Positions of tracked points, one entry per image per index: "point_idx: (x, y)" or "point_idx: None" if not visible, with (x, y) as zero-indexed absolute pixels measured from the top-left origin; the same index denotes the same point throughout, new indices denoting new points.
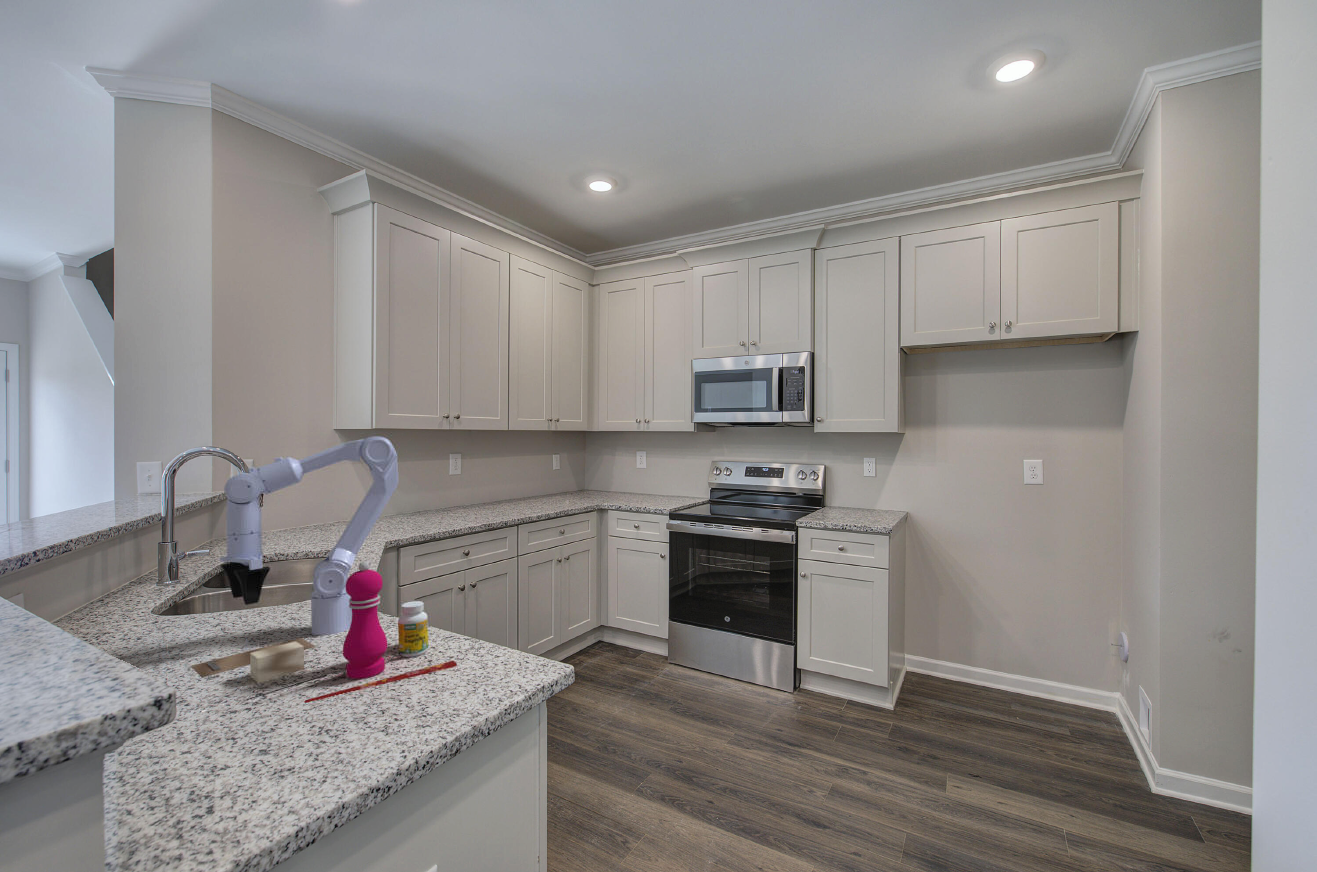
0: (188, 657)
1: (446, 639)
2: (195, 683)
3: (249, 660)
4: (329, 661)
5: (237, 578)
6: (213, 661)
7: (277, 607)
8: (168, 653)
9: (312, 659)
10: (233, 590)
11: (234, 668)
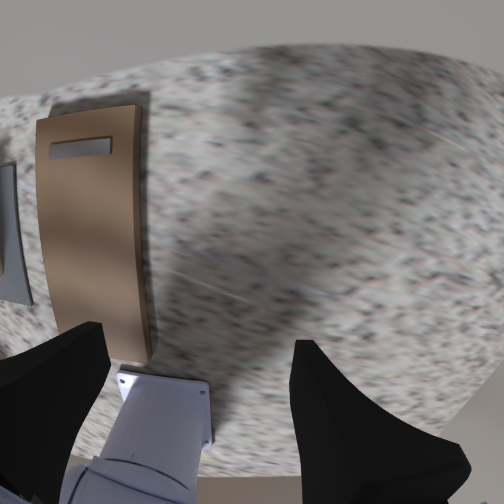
0: (292, 131)
1: None
2: (61, 108)
3: (61, 224)
4: (16, 325)
5: (316, 438)
6: (118, 156)
7: (476, 389)
8: (384, 113)
9: (38, 316)
10: (303, 364)
11: (36, 184)
